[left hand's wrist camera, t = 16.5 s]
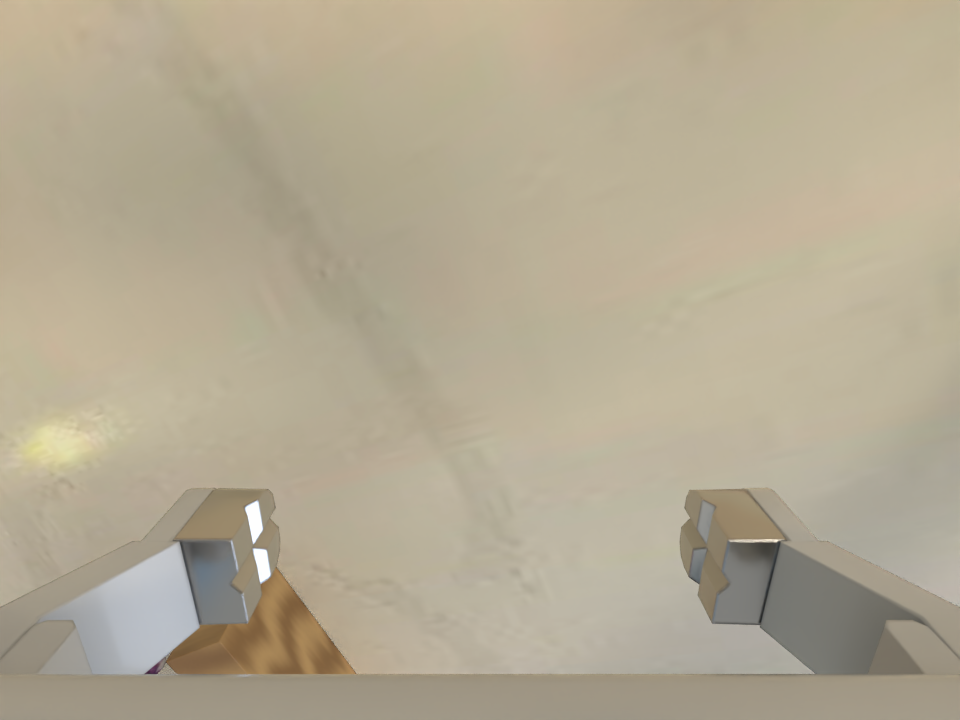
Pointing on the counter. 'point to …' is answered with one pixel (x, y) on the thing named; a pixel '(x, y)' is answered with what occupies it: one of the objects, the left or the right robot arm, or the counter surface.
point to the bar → (263, 641)
